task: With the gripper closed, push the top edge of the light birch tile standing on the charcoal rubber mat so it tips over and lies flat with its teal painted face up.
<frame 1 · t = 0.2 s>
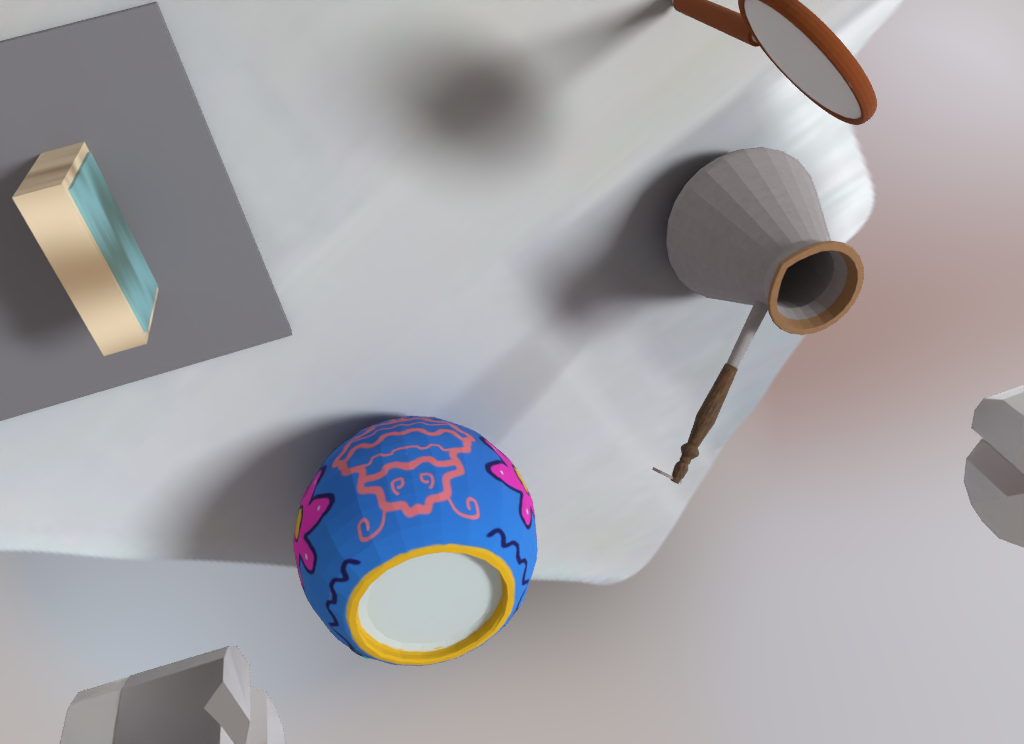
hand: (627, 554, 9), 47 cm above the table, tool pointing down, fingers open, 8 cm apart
ceramic pot: (402, 467, 68), on the table
rubber mat: (39, 239, 52), on the table
coffee pot: (680, 263, 64), on the table
birch tile: (103, 225, 52), point 1 cm above the table, touching rubber mat
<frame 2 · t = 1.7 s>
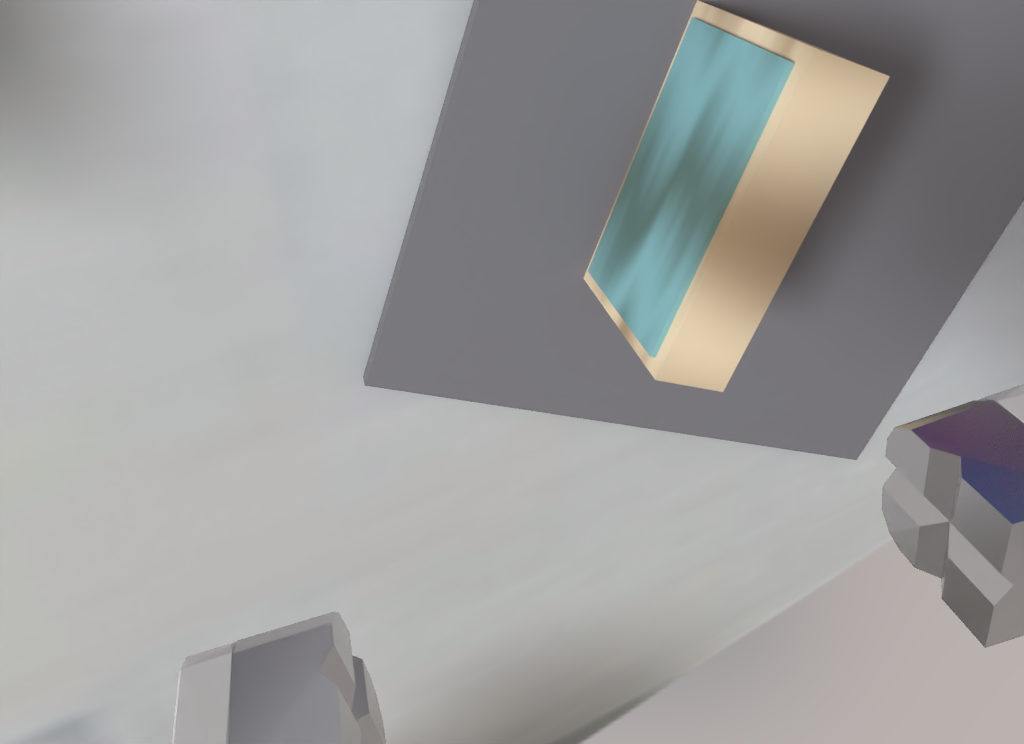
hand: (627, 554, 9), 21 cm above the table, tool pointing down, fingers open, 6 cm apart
rubber mat: (751, 180, 31), on the table
birch tile: (666, 158, 29), point 1 cm above the table, touching rubber mat
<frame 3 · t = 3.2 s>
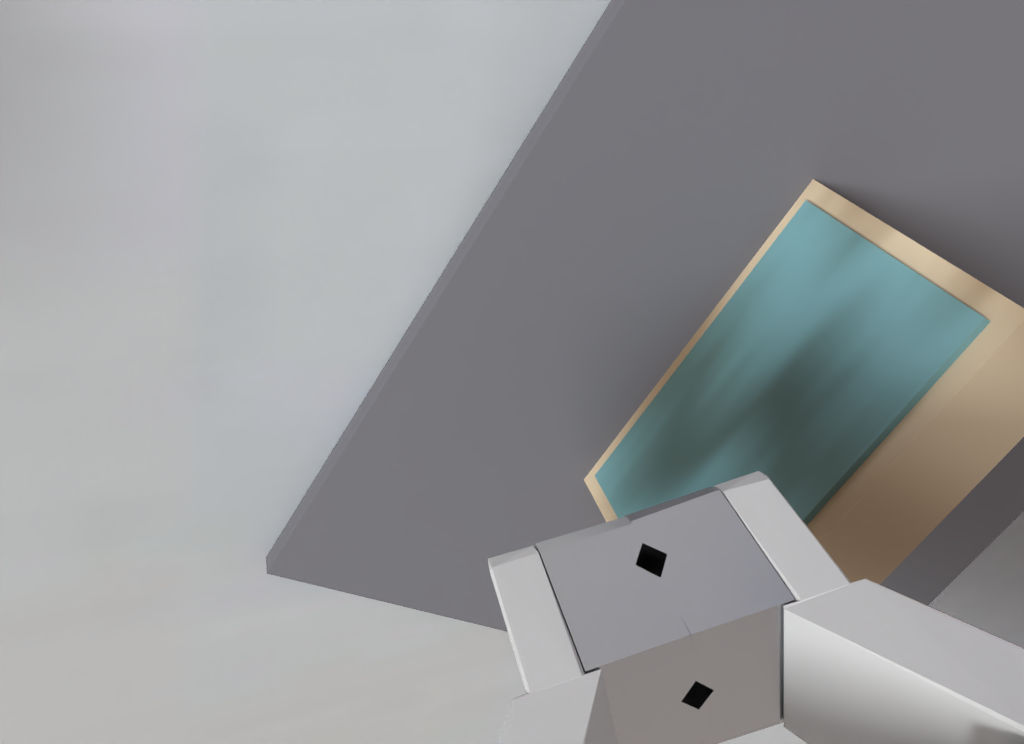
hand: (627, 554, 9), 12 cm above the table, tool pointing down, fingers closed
rubber mat: (803, 393, 25), on the table
birch tile: (722, 357, 23), point 1 cm above the table, touching rubber mat
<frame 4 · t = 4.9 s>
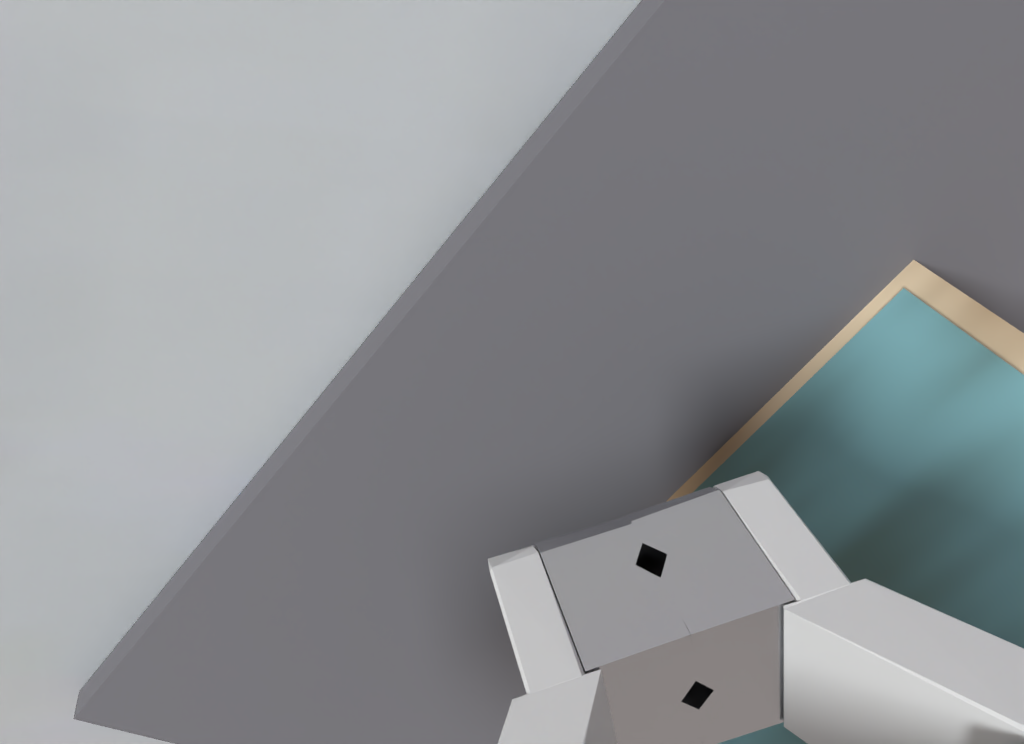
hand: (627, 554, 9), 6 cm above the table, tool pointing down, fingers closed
rubber mat: (839, 533, 19), on the table
birch tile: (749, 482, 17), point 1 cm above the table, touching rubber mat
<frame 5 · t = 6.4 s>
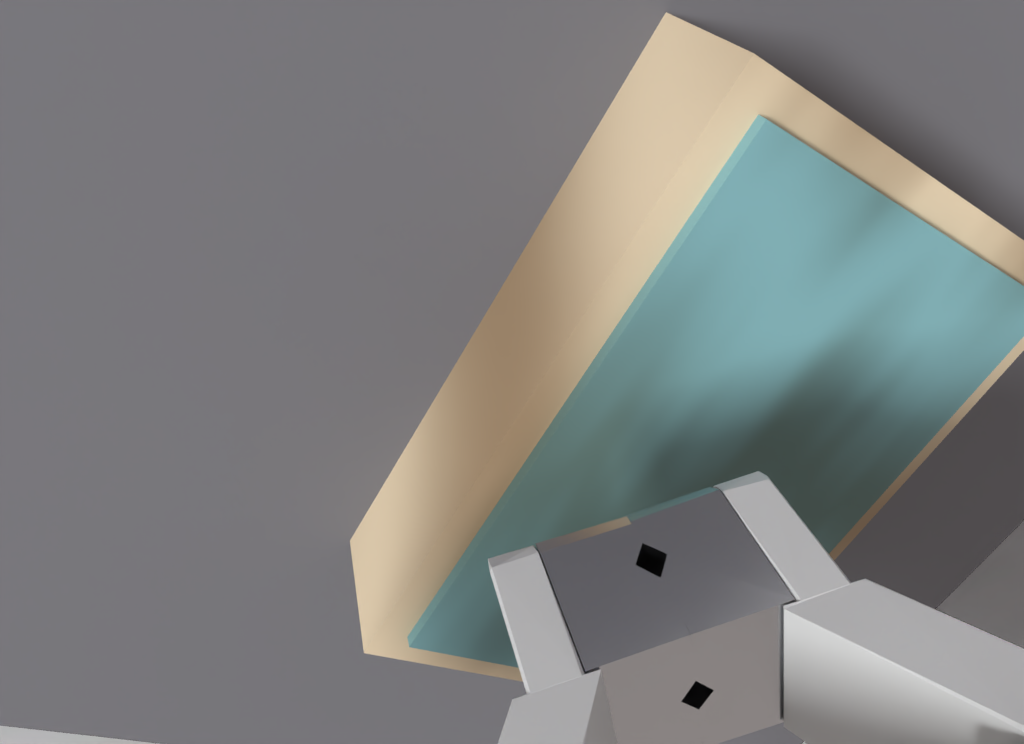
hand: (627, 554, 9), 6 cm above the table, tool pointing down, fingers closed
rubber mat: (608, 350, 15), on the table
birch tile: (504, 353, 12), point 2 cm above the table, tilted 90°, touching rubber mat
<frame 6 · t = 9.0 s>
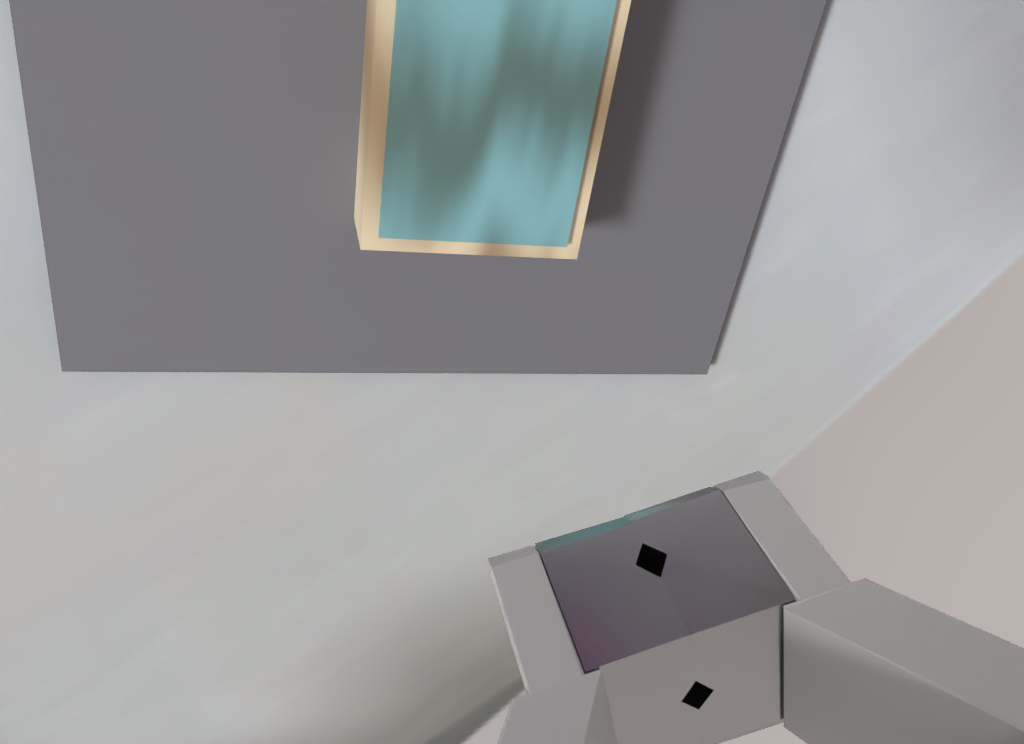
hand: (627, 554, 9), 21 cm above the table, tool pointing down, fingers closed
rubber mat: (449, 65, 26), on the table
birch tile: (367, 70, 24), point 2 cm above the table, tilted 90°, touching rubber mat
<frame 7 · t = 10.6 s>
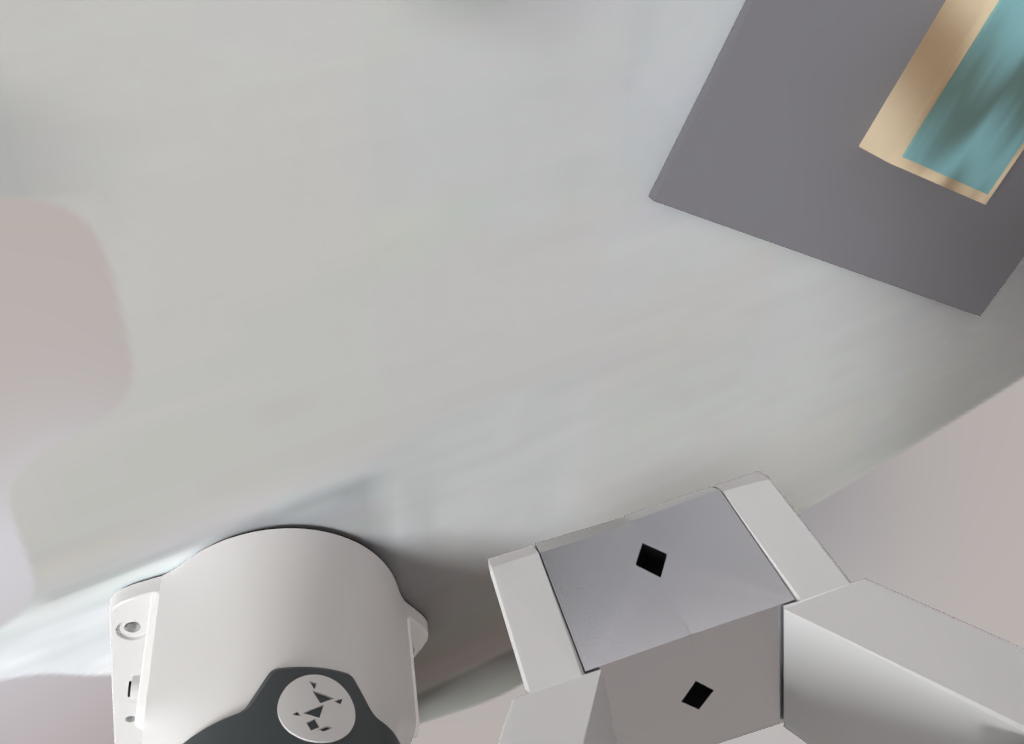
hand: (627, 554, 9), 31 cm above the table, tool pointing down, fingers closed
rubber mat: (947, 66, 42), on the table
birch tile: (933, 55, 39), point 2 cm above the table, tilted 90°, touching rubber mat
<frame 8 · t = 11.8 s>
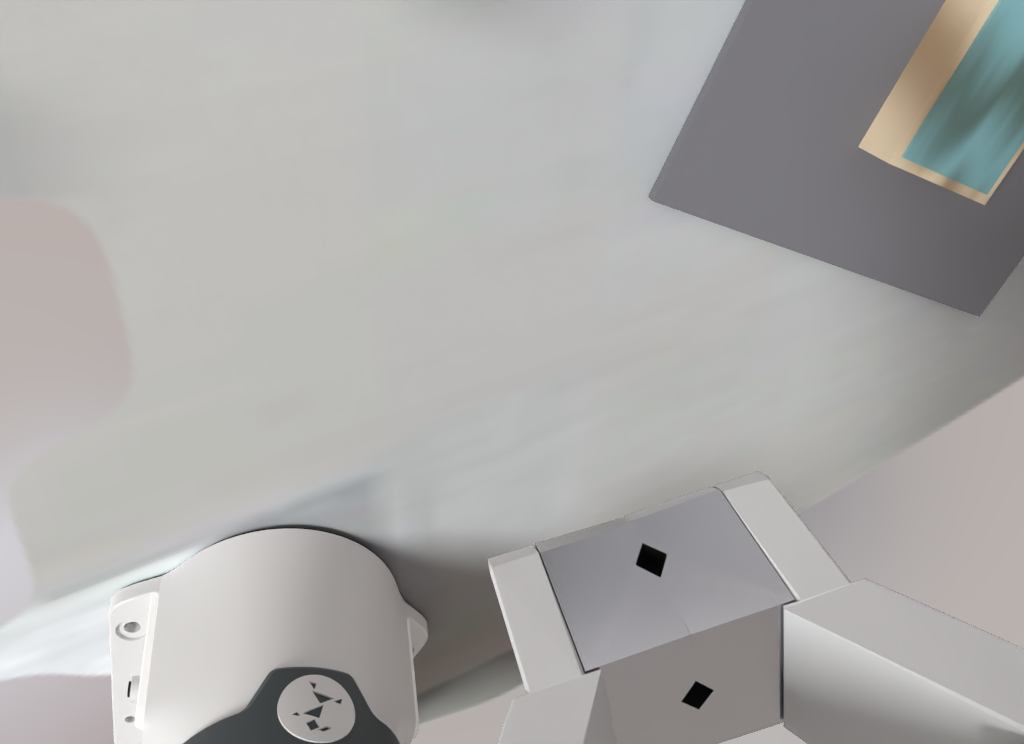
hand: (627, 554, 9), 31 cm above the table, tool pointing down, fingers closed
rubber mat: (946, 66, 42), on the table
birch tile: (932, 55, 40), point 2 cm above the table, tilted 90°, touching rubber mat
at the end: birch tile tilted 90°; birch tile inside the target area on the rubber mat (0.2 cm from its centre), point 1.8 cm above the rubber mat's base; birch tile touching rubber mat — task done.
